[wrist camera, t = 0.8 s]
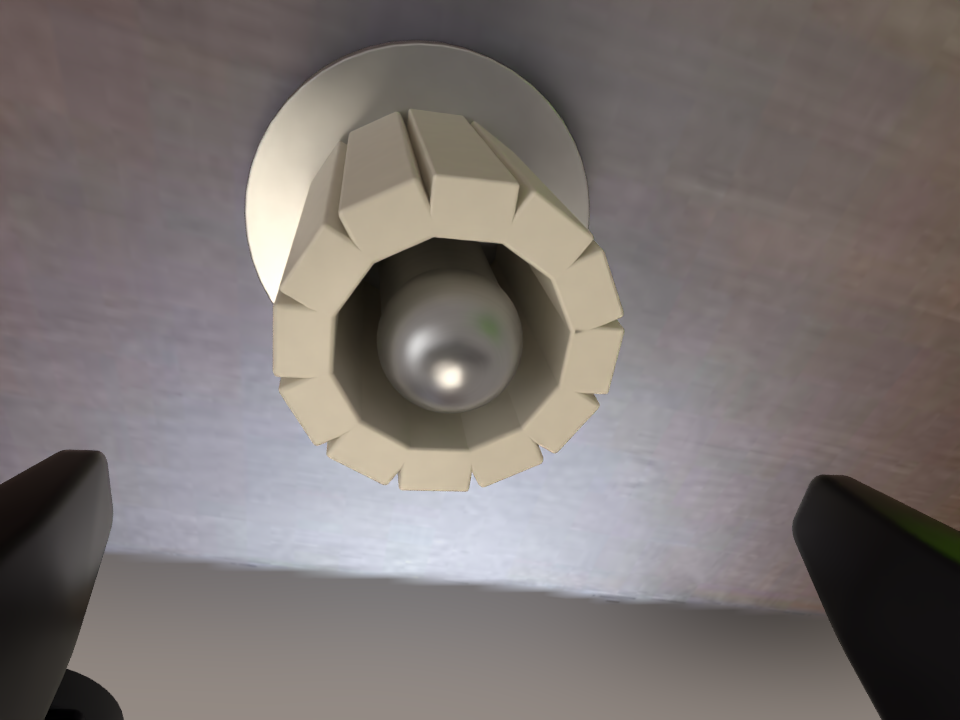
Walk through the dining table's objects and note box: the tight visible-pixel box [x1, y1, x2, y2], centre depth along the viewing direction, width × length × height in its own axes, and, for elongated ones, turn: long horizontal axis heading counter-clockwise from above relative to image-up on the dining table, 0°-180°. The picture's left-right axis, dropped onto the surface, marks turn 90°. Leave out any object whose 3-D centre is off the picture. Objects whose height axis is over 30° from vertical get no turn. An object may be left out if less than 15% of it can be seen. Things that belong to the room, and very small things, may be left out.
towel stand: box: [244, 40, 590, 414], centre depth 15 cm, size 9×9×9 cm
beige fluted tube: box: [273, 109, 624, 492], centre depth 15 cm, size 6×6×7 cm
